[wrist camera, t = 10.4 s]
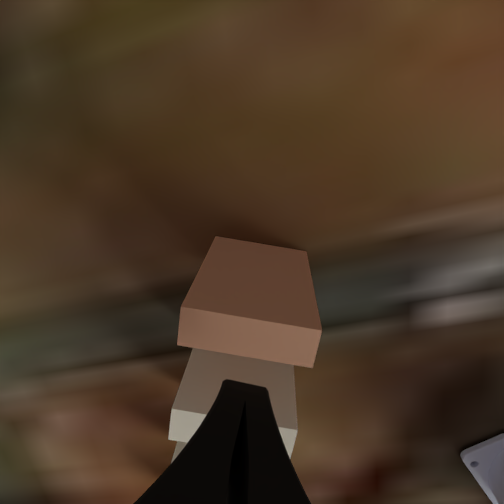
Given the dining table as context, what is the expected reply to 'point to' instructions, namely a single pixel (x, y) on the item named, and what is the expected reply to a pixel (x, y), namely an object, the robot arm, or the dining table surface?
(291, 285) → the terracotta domino
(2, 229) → the dining table surface
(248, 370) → the ivory domino
